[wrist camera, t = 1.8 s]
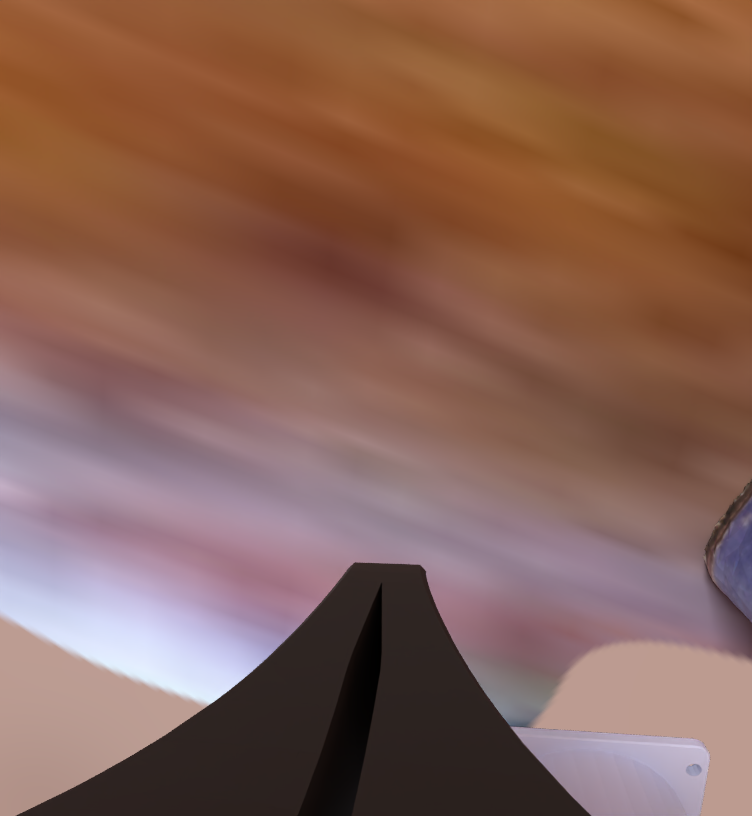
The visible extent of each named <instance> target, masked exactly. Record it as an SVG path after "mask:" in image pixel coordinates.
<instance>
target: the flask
mask: <svg viewBox="0 0 752 816" xmlns="http://www.w3.org/2000/svg"><path fill="white" fill-rule="evenodd" d="M733 503H734V504H733V505H730V507H729V510H728V512H727V513H726V514H725V515H724V517H722V518H721V519H720V520H719V521H718V524H716V525H715V527H716V528H715V530H714V531H713V533H712V537H711V539H710V541H709V542H708V545H707V547H706V548H705V550H706V554H705V555H704V557H703V558H704V560H705V563H706V565H707V568H708V572H709V574H710V576H711V578H712V580H713V582H714V583H715V584H716V585H717V586H718V587H719V589H720V590H721V591H722V592H723V593H724V594H725V595H726V596H727V597H728V598H730V600H731V601H732V602H733V604H734V605H735V606H736V607H738V608H739V609H740V610H741V611H742V612H743V613H744V615H745V616H746V617H747V618H748V619H749V620H750V621H751V622H752V480H751V482H750V483H748V484H747V486H746V487H745V490H744V491H743V493H741V494H740V496H738V497H737V500H736V499H735V500H734V502H733Z"/></svg>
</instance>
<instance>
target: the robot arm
mask: <svg viewBox="0 0 752 816" xmlns="http://www.w3.org/2000/svg"><path fill="white" fill-rule="evenodd" d="M709 762H710V754H709V752H708V750H707V748H706V746H705V745H704V743H703V742H701V741H699V740H697V739H693V738H692V739H691V738H677V737H662V736H647V735H631V734H617V733H601V732H586V731H570V730H556V729H541V728H525V727H510V726H509V724H508V723H507V722H506V721H505V719H504V718H503V717H502V716H501V714H500V713H499V712H498V710H497V709H496V707H495V706H494V705H493V703H492V702H491V701H490V699H489V698H488V697H487V695H486V694H485V692H484V691H483V689H482V688H481V686H480V685H479V683H478V682H477V680H476V679H475V677H474V676H473V674H472V673H471V671H470V669H469V668H468V666H467V664H466V663H465V661H464V659H463V658H462V656H461V654H460V653H459V651H458V649H457V647H456V646H455V644H454V642H453V640H452V638H451V636H450V634H449V632H448V630H447V628H446V626H445V624H444V622H443V620H442V618H441V616H440V614H439V612H438V609H437V607H436V605H435V602H434V600H433V597H432V595H431V592H430V589H429V586H428V582H427V578H426V571H425V570H424V569H423V568H422V567H421V566H420V565H409V564H381V563H354V564H353V565H352V566H351V567H349V569H348V570H347V571H346V572H345V574H344V575H343V576H342V578H341V579H340V580H339V581H338V583H337V584H336V585H335V586H334V588H333V589H332V590H331V591H330V592H329V594H328V595H327V596H326V597H325V598H324V600H323V601H322V602H321V603H320V604H319V605H318V606H317V608H316V609H315V610H314V611H313V612H312V613H311V614H310V615H309V616H308V618H307V619H306V620H305V621H304V622H303V623H302V624H301V625H300V626H299V627H298V628H297V629H296V630H295V631H294V632H293V633H292V634H291V635H290V636H289V637H288V638H287V639H286V640H285V641H284V642H283V643H282V644H281V645H280V646H279V647H278V648H277V649H276V650H275V651H274V652H273V653H272V654H271V655H270V656H269V657H268V658H267V659H266V660H265V661H264V662H262V663H261V664H260V665H259V666H258V667H257V668H256V669H255V670H253V671H252V672H251V673H250V674H249V675H248V676H246V677H245V678H244V679H243V680H242V681H240V682H239V683H238V684H237V685H235V686H234V687H233V688H232V689H230V690H229V691H228V692H227V693H225V694H224V695H223V696H221V697H220V698H219V699H217V700H216V701H215V702H213V703H212V704H210V705H209V706H207V707H206V708H204V709H203V710H202V711H200V712H199V713H197V714H196V715H194V716H193V717H191V718H190V719H188V720H187V721H185V722H184V723H182V724H181V725H180V726H178V727H177V728H175V729H174V730H172V731H171V732H169V733H168V734H166V735H165V736H163V737H162V738H160V739H159V740H157V741H155V742H154V743H152V744H150V745H148V746H147V747H145V748H143V749H142V750H140V751H139V752H137V753H135V754H134V755H132V756H130V757H129V758H127V759H125V760H123V761H122V762H120V763H118V764H116V765H114V766H112V767H111V768H109V769H107V770H105V771H104V772H102V773H100V774H98V775H96V776H95V777H93V778H91V779H89V780H87V781H85V782H83V783H82V784H80V785H78V786H76V787H74V788H72V789H70V790H68V791H66V792H64V793H62V794H60V795H58V796H56V797H54V798H52V799H49V800H47V801H45V802H43V803H41V804H39V805H37V806H35V807H33V808H31V809H29V810H27V811H25V812H23V813H21V814H19V815H17V816H700V814H701V809H702V803H703V797H704V791H705V786H706V779H707V774H708V767H709ZM691 764H694V765H692V766H689V765H691Z"/></svg>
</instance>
